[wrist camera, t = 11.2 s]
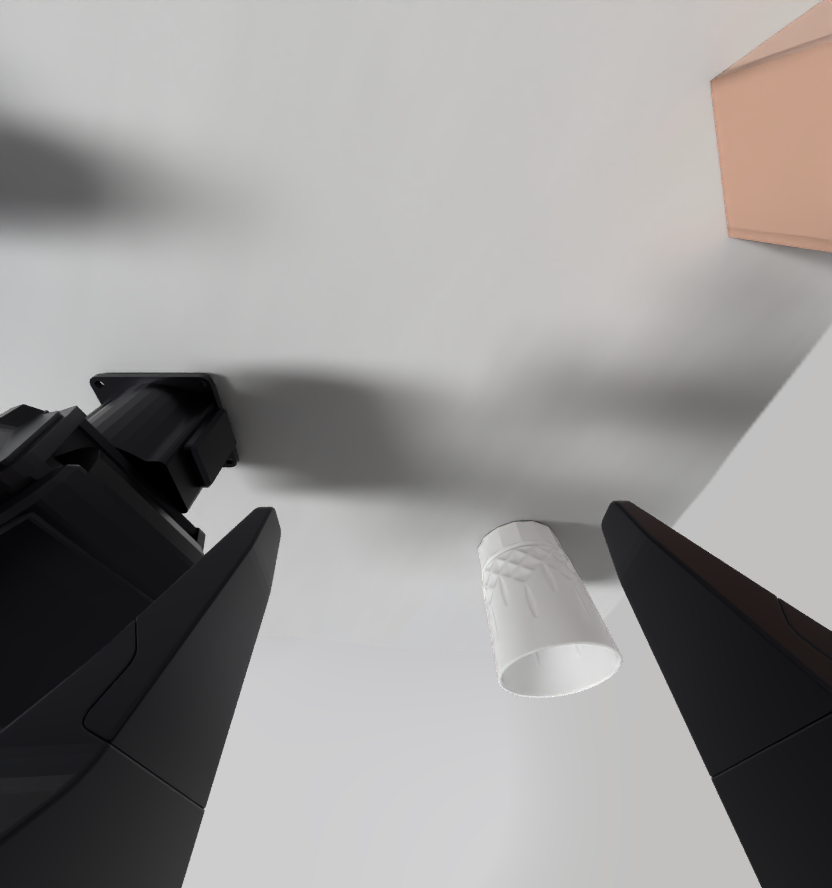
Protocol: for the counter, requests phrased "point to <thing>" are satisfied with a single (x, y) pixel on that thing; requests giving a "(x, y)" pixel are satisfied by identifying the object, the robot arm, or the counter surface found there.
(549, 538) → the white cup
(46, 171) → the counter surface
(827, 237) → the terracotta cover
